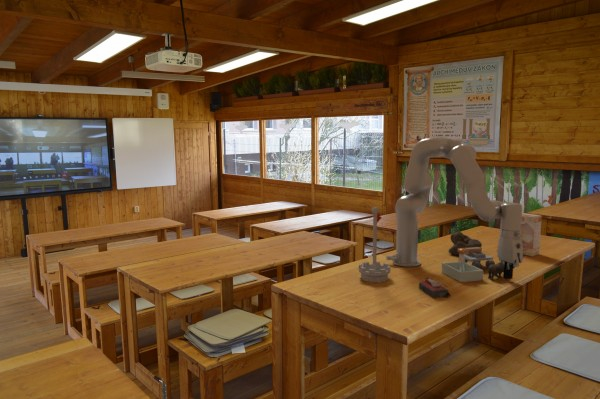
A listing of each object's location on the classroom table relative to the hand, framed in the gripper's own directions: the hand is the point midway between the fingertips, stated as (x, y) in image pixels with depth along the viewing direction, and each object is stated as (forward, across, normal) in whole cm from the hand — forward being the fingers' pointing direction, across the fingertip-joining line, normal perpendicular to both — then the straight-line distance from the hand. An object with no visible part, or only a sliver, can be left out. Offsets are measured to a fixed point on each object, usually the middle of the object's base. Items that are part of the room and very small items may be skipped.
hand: (507, 277), depth 189 cm
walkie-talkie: (+2, -1, +35) cm, 35 cm away
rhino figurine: (+2, +6, 0) cm, 7 cm away
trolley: (+1, +21, 0) cm, 21 cm away
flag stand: (+2, +19, +50) cm, 53 cm away
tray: (+1, +11, +14) cm, 18 cm away
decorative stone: (+2, +42, -9) cm, 43 cm away
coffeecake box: (+2, +37, -37) cm, 52 cm away
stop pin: (+1, +11, +14) cm, 18 cm away
